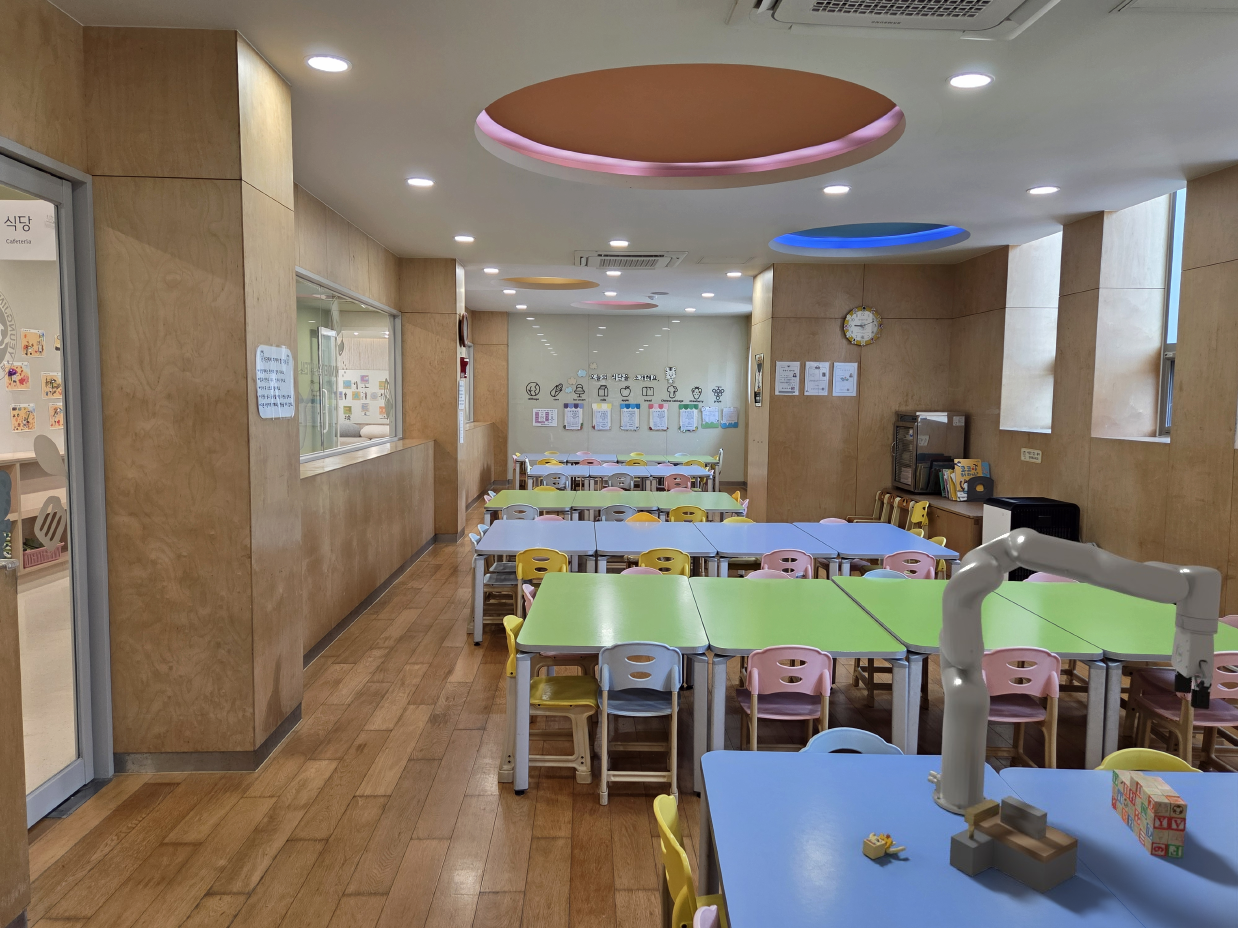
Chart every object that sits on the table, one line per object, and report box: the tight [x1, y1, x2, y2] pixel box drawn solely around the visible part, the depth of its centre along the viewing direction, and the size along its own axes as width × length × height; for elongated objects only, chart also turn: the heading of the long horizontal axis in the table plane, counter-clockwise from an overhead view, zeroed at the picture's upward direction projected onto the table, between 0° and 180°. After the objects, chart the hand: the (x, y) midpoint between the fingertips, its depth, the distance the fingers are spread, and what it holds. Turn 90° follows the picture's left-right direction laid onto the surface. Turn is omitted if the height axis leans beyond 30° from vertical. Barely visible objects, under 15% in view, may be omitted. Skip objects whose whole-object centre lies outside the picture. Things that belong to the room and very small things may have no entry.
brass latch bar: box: [963, 798, 1001, 838], centre depth 163 cm, size 2×9×6 cm, turn 122°
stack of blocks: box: [1111, 769, 1188, 860], centre depth 177 cm, size 21×6×12 cm, turn 168°
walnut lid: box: [975, 795, 1079, 864], centre depth 162 cm, size 16×12×6 cm
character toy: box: [862, 832, 907, 860], centre depth 167 cm, size 8×3×8 cm
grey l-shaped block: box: [949, 828, 1078, 894], centre depth 161 cm, size 16×19×6 cm
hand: (1190, 699), depth 172 cm, fingers open, 9 cm apart
